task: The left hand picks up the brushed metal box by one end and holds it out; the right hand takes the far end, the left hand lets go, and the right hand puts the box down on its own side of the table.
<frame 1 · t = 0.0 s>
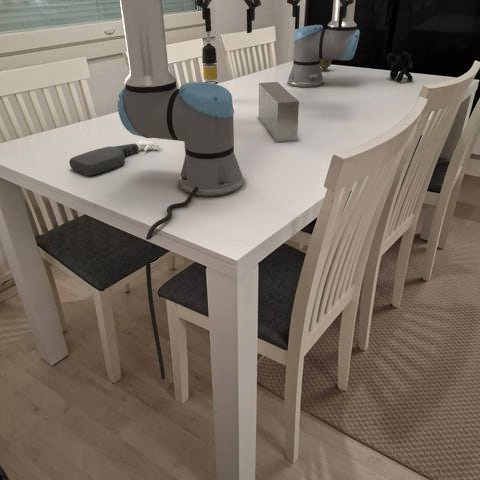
left hand: (228, 32, 139), 28 cm above the table, tool pointing down, fingers open, 13 cm apart
right hand: (317, 29, 140), 28 cm above the table, tool pointing down, fingers open, 13 cm apart
bracket: (156, 118, 158), on the table
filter: (211, 98, 179), on the table
cup: (324, 70, 220), on the table
spray bottle: (117, 159, 125), on the table
box: (276, 128, 146), on the table
squiggle: (399, 80, 200), on the table
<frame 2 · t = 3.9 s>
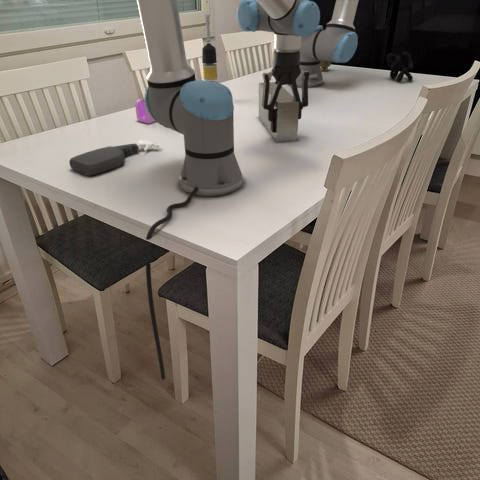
left hand: (284, 130, 137), 2 cm above the table, tool pointing down, fingers closed on box, 6 cm apart
right hand: (286, 24, 153), 28 cm above the table, tool pointing down, fingers open, 13 cm apart
box: (276, 128, 146), on the table, touching left hand
everything else where it was.
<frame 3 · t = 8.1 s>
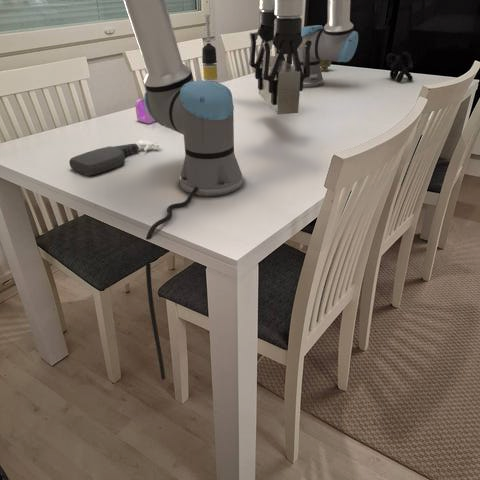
left hand: (284, 103, 133), 11 cm above the table, tool pointing down, fingers closed on box, 6 cm apart
right hand: (270, 88, 148), 11 cm above the table, tool pointing down, fingers closed on box, 6 cm apart
box: (277, 102, 142), point 8 cm above the table, touching left hand, right hand
everything else where it was.
when the left hand's fingers open (11 cm above the table, at t = 8.9 s): box stays where it is, held by the right hand.
when the right hand's fingers open (4 cm above the table, at t = 12.9 s): box drops 2 cm, on the table.
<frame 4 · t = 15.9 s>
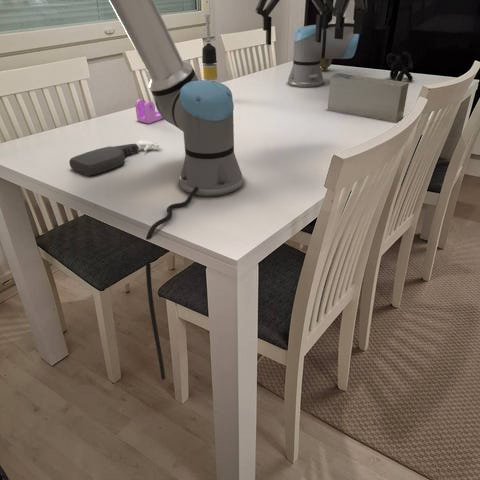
left hand: (293, 43, 119), 28 cm above the table, tool pointing down, fingers open, 13 cm apart
right hand: (348, 36, 150), 25 cm above the table, tool pointing down, fingers open, 13 cm apart
box: (363, 113, 158), on the table
everything else where it was.
at the end: box inside the target area (9.1 cm from its centre), on the table; the left hand is holding nothing; the right hand is holding nothing; box at rest at the end (0.0 cm/s) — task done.
